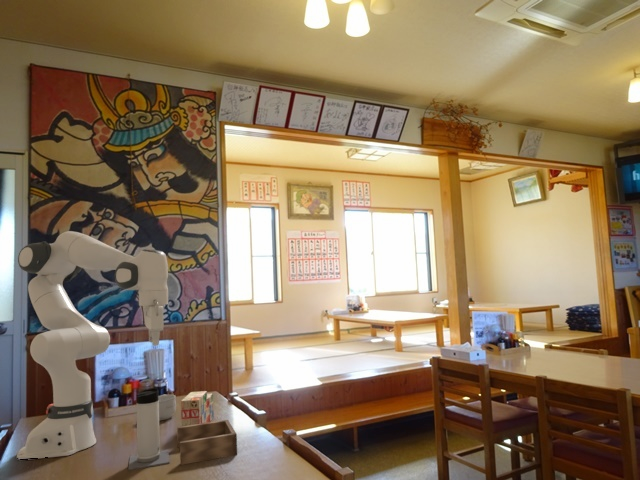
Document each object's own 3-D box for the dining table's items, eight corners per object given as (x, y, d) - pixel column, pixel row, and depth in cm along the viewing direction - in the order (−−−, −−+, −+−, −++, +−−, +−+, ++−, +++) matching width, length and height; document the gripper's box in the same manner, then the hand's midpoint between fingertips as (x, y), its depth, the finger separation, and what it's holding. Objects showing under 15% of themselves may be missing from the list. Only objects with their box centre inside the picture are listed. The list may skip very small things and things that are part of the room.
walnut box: (180, 464, 131) (180, 443, 132) (177, 446, 146) (177, 427, 147) (237, 454, 137) (236, 433, 137) (228, 438, 152) (227, 419, 153)
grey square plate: (128, 470, 129) (128, 469, 129) (130, 457, 139) (130, 456, 139) (169, 463, 133) (169, 461, 133) (168, 450, 143) (168, 449, 143)
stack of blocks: (197, 418, 178) (197, 386, 179) (213, 417, 178) (213, 385, 179) (181, 437, 156) (180, 400, 157) (199, 436, 156) (199, 399, 157)
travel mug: (164, 457, 137) (163, 388, 139) (144, 464, 131) (143, 393, 133) (153, 453, 140) (152, 386, 142) (133, 460, 135) (132, 391, 137)
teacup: (170, 421, 174) (170, 400, 175) (142, 423, 174) (142, 401, 175) (182, 411, 188) (181, 391, 189) (156, 412, 188) (155, 393, 189)
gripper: (168, 299, 138) (168, 346, 137) (160, 298, 156) (160, 339, 155) (146, 301, 135) (146, 348, 134) (140, 299, 154) (140, 341, 153)
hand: (154, 343), depth 145 cm, fingers open, 8 cm apart
